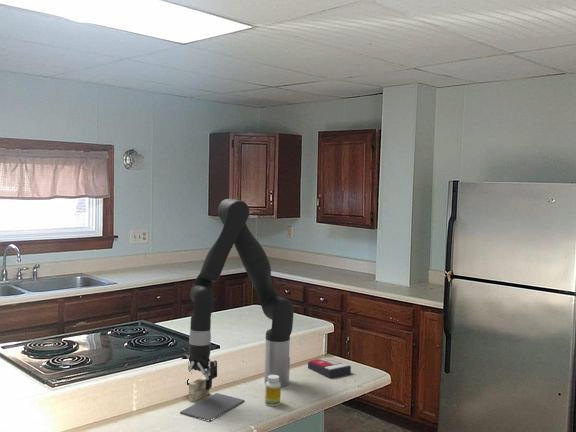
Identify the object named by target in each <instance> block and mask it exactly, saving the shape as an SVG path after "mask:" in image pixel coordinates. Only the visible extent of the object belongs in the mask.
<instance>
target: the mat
mask: <svg viewBox="0 0 576 432" xmlns="http://www.w3.org/2000/svg"><path fill="white" fill-rule="evenodd" d="M243 403H245V399H243V398H239V397H233V396H230V395H225V394H222V393H219V392H218V393H217V392H216V393H214V394H211V395H210V396H208V397H206V398H204V399H202V400H200V401H198V402H196V403H195V404H193V405H191V406H189V407H186V408H185V409H182V410H181V411H179V414H182V415H185V416H187V417H190V418H194V417H196V418H195V419H198V418H201V419H205V420H209V421H210V420H211V419H213V418H215V417H217V416H219V415H221V414H222V415H224V414H226V413H227V411H228V412H229V411H231V410H232V408H233V409H234V408H236V407H237V405H238V406H240V405H241V404H243ZM239 404H240V405H239ZM230 409H231V410H230ZM225 412H226V413H225ZM223 413H224V414H223ZM222 415H221V416H222ZM219 417H220V416H219ZM217 418H218V417H217ZM201 419H200V420H201ZM215 419H216V418H215ZM205 420H204V421H205ZM210 422H211V421H210Z"/></svg>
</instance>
